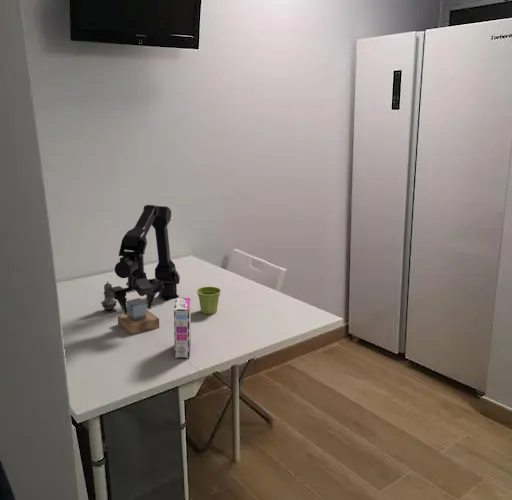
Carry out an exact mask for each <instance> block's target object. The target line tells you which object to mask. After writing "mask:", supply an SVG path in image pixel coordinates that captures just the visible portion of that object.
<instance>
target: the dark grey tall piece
mask: <svg viewBox="0 0 512 500" xmlns="http://www.w3.org/2000/svg"><path fill="white" fill-rule="evenodd" d="M112 285H113V284H111V283H109V281H106V283H105V284H104V285H103V289H104V292H103V293H102V294H103V295H104V300H102V301H101V302H100V304H101V307H102V308H103V310H102V313H103V312H104V313H103V314H106V313H109V314H114V313H116V312H117V309H116V305H117V302H118V301H117V300H115V299H113V298H112V297H110V296H109V293H108V291H109V289H110V288H112V287H113V286H112ZM113 312H114V313H113Z"/></svg>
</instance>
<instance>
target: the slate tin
mask: <svg viewBox="0 0 512 500" xmlns="http://www.w3.org/2000/svg"><path fill="white" fill-rule="evenodd" d="M146 305H147V301H146V300H143V299H142V298H140V297H136V298H133V299H132V298H131V299H129V300H128V299H127V300H126V307H127V317H128V318H130V319H131V320H133V321H136V320H140V319H143V318H146V310H147V306H146Z"/></svg>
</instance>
